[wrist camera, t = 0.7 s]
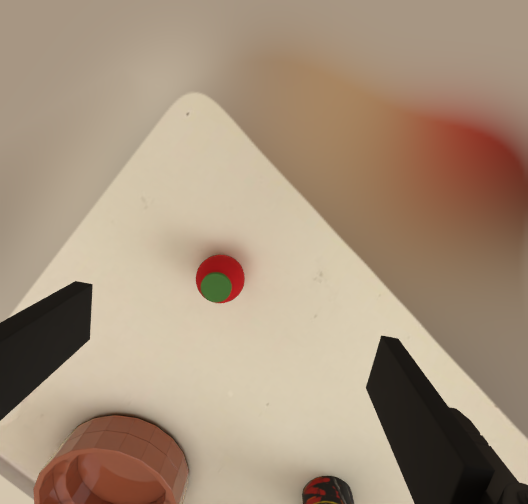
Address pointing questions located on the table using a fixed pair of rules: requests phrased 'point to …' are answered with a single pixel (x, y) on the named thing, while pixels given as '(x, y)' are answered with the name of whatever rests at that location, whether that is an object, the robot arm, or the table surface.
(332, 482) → the deodorant
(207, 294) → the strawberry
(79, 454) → the bowl
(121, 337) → the table surface
